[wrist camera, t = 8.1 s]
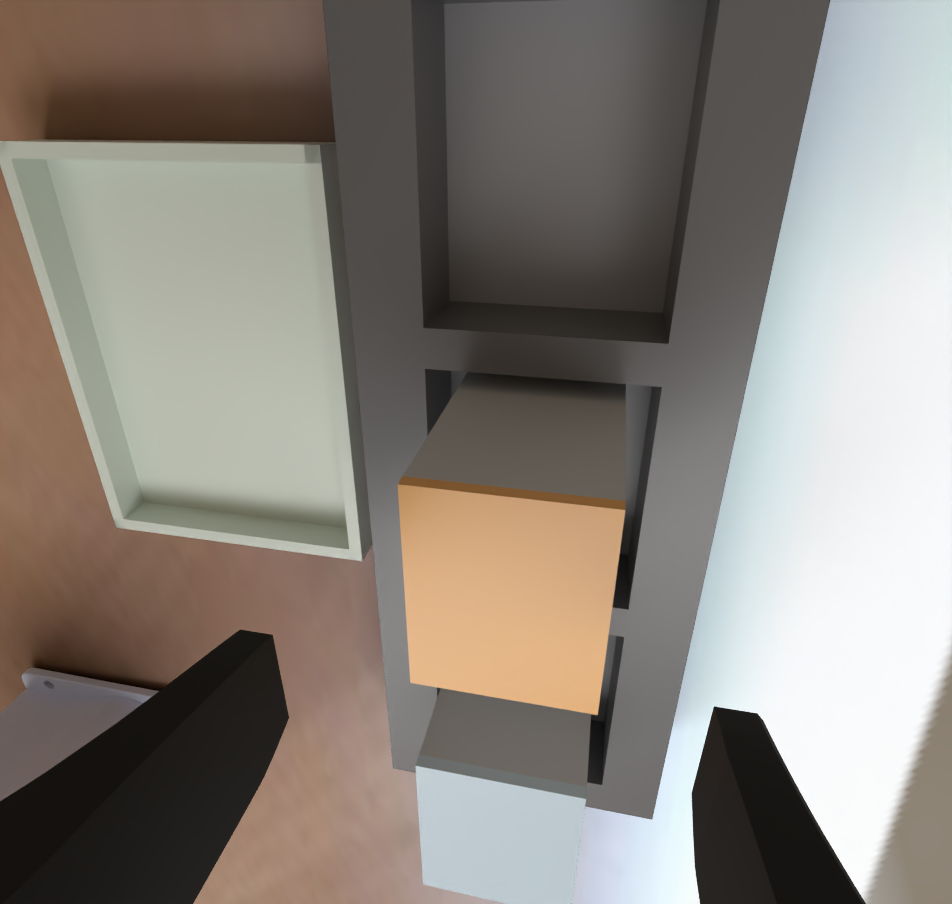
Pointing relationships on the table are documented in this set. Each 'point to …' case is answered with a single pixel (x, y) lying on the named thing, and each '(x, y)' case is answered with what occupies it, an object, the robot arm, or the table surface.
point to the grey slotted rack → (569, 275)
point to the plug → (516, 539)
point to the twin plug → (502, 798)
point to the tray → (204, 332)
